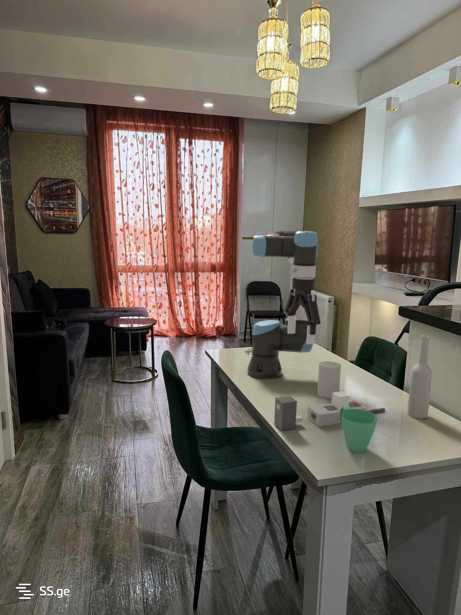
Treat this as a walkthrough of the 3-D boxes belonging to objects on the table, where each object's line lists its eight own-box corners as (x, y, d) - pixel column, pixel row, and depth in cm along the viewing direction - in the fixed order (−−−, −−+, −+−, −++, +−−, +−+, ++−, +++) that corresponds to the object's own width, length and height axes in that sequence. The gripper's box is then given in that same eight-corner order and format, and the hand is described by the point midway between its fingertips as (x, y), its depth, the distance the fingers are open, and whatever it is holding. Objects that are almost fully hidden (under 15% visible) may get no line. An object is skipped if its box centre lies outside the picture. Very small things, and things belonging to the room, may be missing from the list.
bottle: (407, 409, 151) (415, 332, 146) (428, 413, 148) (436, 335, 143) (406, 416, 145) (414, 336, 140) (427, 420, 142) (436, 339, 137)
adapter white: (331, 405, 143) (332, 392, 142) (341, 403, 144) (342, 391, 143) (338, 409, 139) (339, 396, 138) (348, 408, 140) (349, 395, 140)
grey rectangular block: (273, 423, 136) (274, 397, 135) (296, 420, 139) (298, 394, 138) (281, 430, 132) (282, 403, 130) (304, 427, 135) (305, 400, 133)
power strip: (307, 417, 142) (308, 404, 141) (378, 407, 152) (379, 395, 151) (318, 426, 136) (319, 413, 135) (391, 415, 146) (393, 402, 145)
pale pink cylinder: (339, 399, 159) (341, 368, 157) (317, 397, 161) (319, 366, 159) (338, 391, 167) (340, 362, 165) (317, 389, 169) (319, 360, 167)
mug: (381, 455, 118) (384, 422, 117) (348, 458, 116) (351, 424, 115) (355, 431, 133) (358, 401, 131) (326, 433, 131) (328, 403, 129)
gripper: (277, 273, 154) (275, 330, 158) (313, 283, 131) (309, 349, 135) (295, 273, 156) (293, 328, 160) (334, 282, 133) (329, 347, 137)
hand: (300, 338), depth 148 cm, fingers open, 13 cm apart
